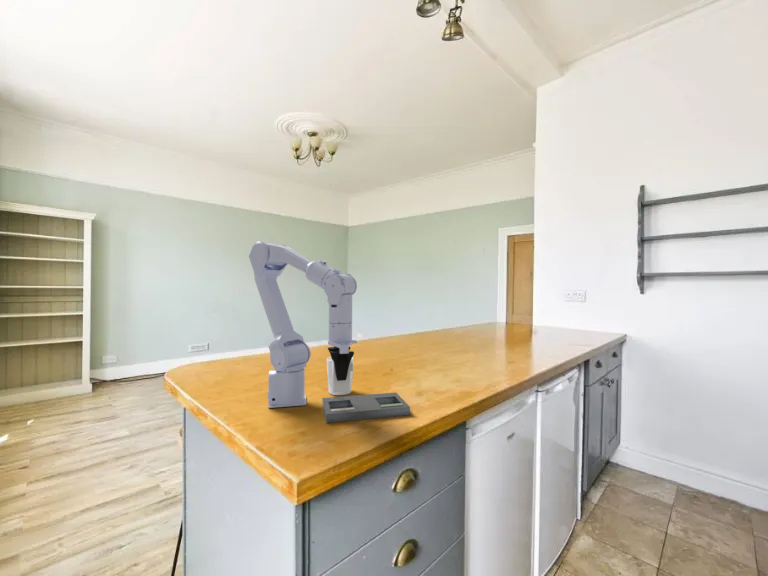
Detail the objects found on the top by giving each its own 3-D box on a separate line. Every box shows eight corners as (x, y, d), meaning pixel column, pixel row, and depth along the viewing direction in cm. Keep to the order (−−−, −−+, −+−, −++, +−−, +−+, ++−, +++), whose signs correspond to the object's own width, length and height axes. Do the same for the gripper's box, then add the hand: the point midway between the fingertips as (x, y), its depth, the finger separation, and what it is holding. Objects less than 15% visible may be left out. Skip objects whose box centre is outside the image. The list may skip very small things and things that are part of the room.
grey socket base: (326, 423, 79) (326, 413, 79) (322, 405, 91) (322, 397, 91) (409, 415, 84) (409, 405, 84) (396, 399, 96) (396, 391, 96)
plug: (333, 392, 83) (333, 363, 83) (331, 387, 87) (331, 359, 87) (353, 391, 85) (353, 362, 85) (350, 386, 88) (350, 359, 88)
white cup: (327, 388, 106) (327, 355, 106) (353, 387, 107) (353, 355, 107) (325, 396, 98) (325, 361, 99) (353, 395, 99) (353, 360, 99)
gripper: (361, 325, 80) (361, 384, 80) (352, 319, 94) (351, 370, 94) (330, 326, 78) (330, 386, 78) (325, 320, 92) (325, 371, 92)
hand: (340, 377), depth 86 cm, fingers closed on plug, 4 cm apart
